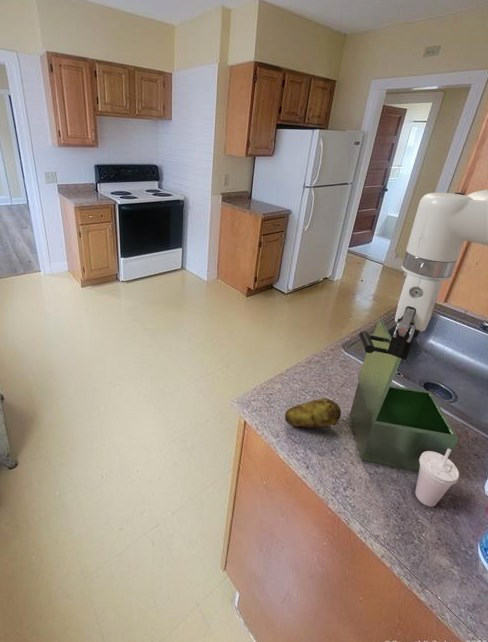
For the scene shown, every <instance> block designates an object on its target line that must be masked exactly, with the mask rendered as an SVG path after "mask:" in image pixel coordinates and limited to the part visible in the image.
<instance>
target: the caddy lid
mask: <svg viewBox="0 0 488 642" xmlns="http://www.w3.org/2000/svg"><path fill="white" fill-rule="evenodd" d="M358 337H359V340H360V341H361V344H362V347H363V349H364V351H365V353H366V354H365V356H364V359H363V362H362V365H361V367H360V370H359V373H358V375H357V381H359V384H360V388H361V391H362V394H363V397H364V400H365V403H366V406H367V409H368V412H369V415H370V418H371V421H374V422H375V421H376V419H377V416H378V414H379V411H380V409H381V407H382V404H383V402H384V399H385V397H386V395H387V392H388V390H389V388H390V385H392V383H393V380H394V378H395V376H396V373H397V371H398V368H399V366H400V364H401V361H402V359H401V358H398V357H396V356H393V355H391V354H389V353H388V348H389V345H390V341H391V338H392V335H391V334H390V332H389V330H388V329H387V327H386V325H385V323H384V321H383V320H381V319H378V321H377V324H376V326H375V329H374V332H373V335H371V334H369V332H367V331H366V330H363V331H362V330H361V331H360V332H359V334H358Z"/></svg>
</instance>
